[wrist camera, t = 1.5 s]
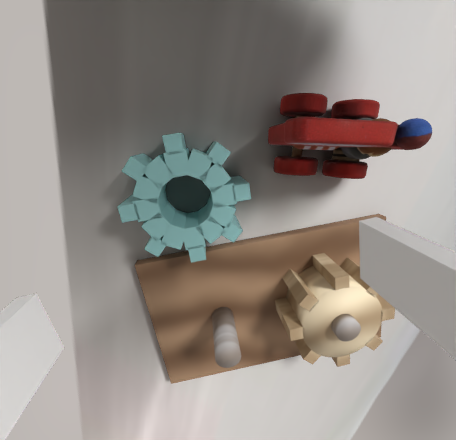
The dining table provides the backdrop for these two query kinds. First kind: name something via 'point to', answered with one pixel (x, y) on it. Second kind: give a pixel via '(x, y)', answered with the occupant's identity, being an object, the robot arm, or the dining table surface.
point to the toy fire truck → (339, 135)
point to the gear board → (263, 301)
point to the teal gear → (174, 219)
